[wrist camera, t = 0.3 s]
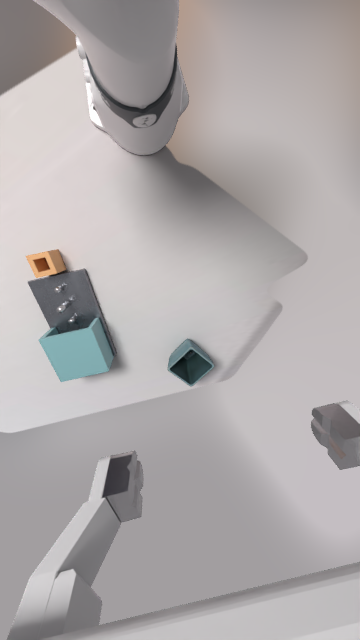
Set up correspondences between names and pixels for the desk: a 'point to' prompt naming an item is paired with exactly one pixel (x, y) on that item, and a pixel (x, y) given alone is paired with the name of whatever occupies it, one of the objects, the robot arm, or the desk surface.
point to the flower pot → (189, 363)
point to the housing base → (69, 302)
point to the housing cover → (78, 351)
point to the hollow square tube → (41, 265)
